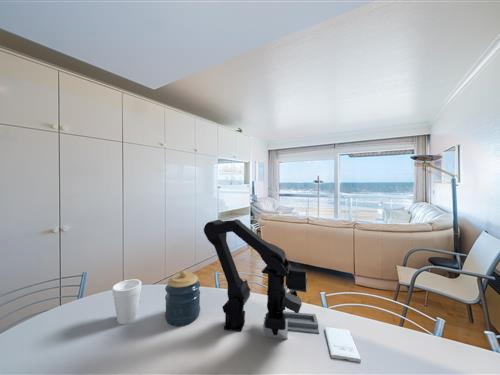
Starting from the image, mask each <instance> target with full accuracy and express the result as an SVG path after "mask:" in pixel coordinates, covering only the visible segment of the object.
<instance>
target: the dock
mask: <svg viewBox="0 0 500 375" xmlns="http://www.w3.org/2000/svg"><path fill="white" fill-rule="evenodd" d="M283 314H284V315H285V319H287V321H288V331H289V332H290V331H292V332H300V333H310V334H311V333H312V334H320V330H319V329H320V328H319V320H318V318H317V315H316V314H315V313H306V312H299V313H295V312H294V311H286V310H284V311H283Z"/></svg>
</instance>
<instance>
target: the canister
mask: <svg viewBox="0 0 500 375" xmlns="http://www.w3.org/2000/svg"><path fill="white" fill-rule="evenodd" d="M200 287H201V282H200V281H199V276H197V275H196V274H194V273H192V272H187V271H186V270H181V271H180V272H178V273H176V274H174V275H172V277H170V278H169V279H168V281H167V285H166V286H165V289H164V290H165V293H166V294H165V298H164V299H165V312H164V317H165V320H166V323H167V324H168V325H170V326H174V327H183V326H186V325H189V324H191V323H193V322H194V321H196V320H197V319H198V318H199V316H200V313H201V305H200V302H201V301H200V300H201V299H200V298H201V297H200V296H201V290H200Z"/></svg>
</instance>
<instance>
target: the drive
mask: <svg viewBox="0 0 500 375" xmlns="http://www.w3.org/2000/svg"><path fill="white" fill-rule="evenodd" d="M285 320H286V329H285V330H278V334H277V335H274V334H273V332H272V330H271V329H269V328H266V327H265V316H264V318H263V337H267V338H275V339H285V340H288V337H289V336H288V332H289V330H288V321H287V319H285Z"/></svg>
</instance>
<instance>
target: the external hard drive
mask: <svg viewBox="0 0 500 375" xmlns="http://www.w3.org/2000/svg"><path fill="white" fill-rule="evenodd" d="M324 334H325V336H326V341H327V346H328V349H329V353H330V354H329V355H330V358H332V359H333V358H334V359H338V360H346V361H350V362H357V363H358V362H359V363H361V362H362V361H361V360H362V359H361V356H360V354H359V351H358V349H357V346H356V345H355V342H354V339H353V337H352V334H351V332H350V330H349V329H345V328H337V327H330V326H324Z"/></svg>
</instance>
